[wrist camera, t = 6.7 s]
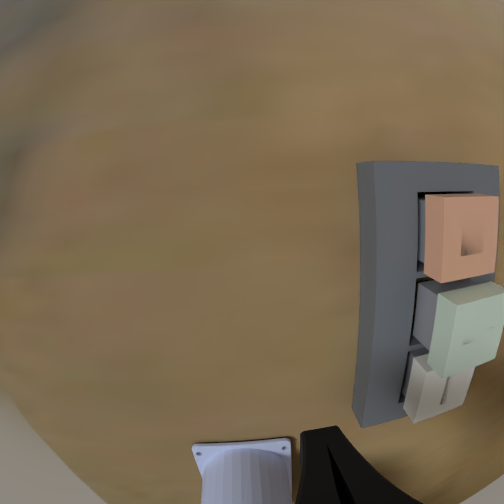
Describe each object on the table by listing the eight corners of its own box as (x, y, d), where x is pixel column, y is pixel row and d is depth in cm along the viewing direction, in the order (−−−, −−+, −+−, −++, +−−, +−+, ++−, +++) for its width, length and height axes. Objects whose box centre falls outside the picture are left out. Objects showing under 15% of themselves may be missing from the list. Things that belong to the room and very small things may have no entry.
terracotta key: (452, 254, 18) (494, 272, 14) (401, 260, 18) (440, 283, 14) (453, 190, 17) (498, 196, 13) (400, 191, 17) (443, 197, 13)
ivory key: (434, 373, 21) (462, 404, 16) (388, 386, 21) (413, 423, 16) (444, 326, 20) (478, 354, 15) (395, 337, 20) (426, 372, 15)
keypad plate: (453, 378, 21) (467, 393, 19) (351, 407, 21) (361, 428, 19) (475, 165, 17) (498, 165, 15) (356, 163, 17) (373, 161, 15)
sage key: (456, 327, 18) (494, 358, 13) (406, 341, 18) (441, 378, 13) (465, 268, 17) (510, 290, 12) (413, 277, 17) (456, 305, 12)
